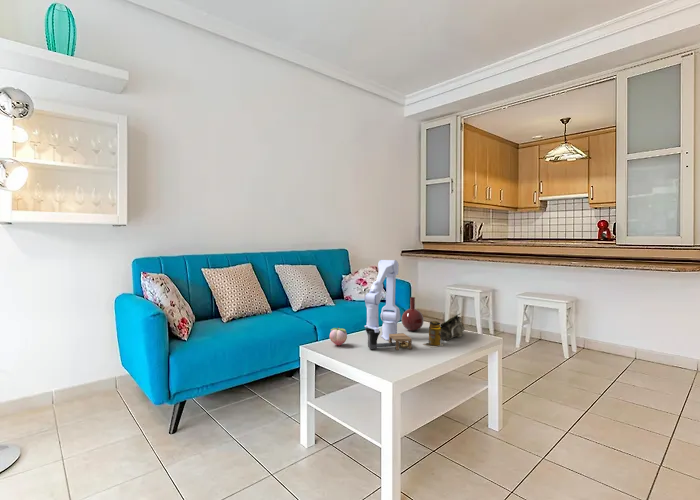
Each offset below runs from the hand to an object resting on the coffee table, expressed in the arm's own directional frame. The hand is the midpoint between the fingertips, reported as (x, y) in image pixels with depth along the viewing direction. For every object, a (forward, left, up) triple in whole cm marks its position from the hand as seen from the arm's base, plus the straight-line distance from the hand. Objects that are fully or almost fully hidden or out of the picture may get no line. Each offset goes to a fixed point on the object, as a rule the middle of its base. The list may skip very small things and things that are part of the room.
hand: (372, 343), depth 194 cm
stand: (0, +15, -3) cm, 15 cm away
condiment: (+1, +33, -3) cm, 33 cm away
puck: (0, +17, -3) cm, 17 cm away
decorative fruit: (-11, -15, -3) cm, 19 cm away
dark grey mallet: (0, +6, -2) cm, 7 cm away
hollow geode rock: (-11, +48, -3) cm, 50 cm away
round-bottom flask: (-30, +35, -3) cm, 46 cm away
